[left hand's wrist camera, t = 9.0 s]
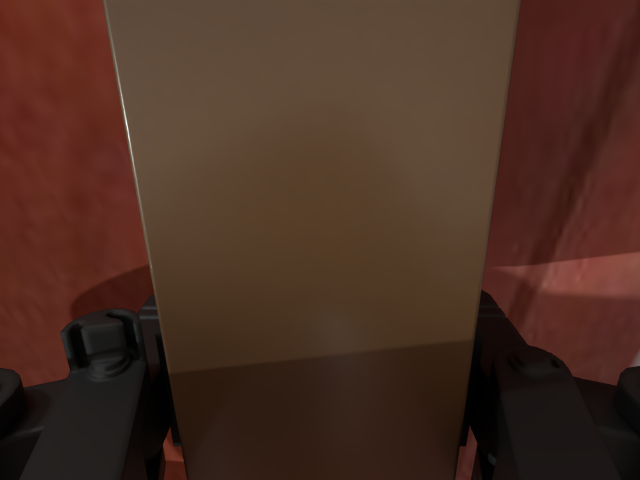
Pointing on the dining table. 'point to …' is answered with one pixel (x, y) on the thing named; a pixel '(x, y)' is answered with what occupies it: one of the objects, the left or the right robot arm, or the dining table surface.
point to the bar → (316, 222)
